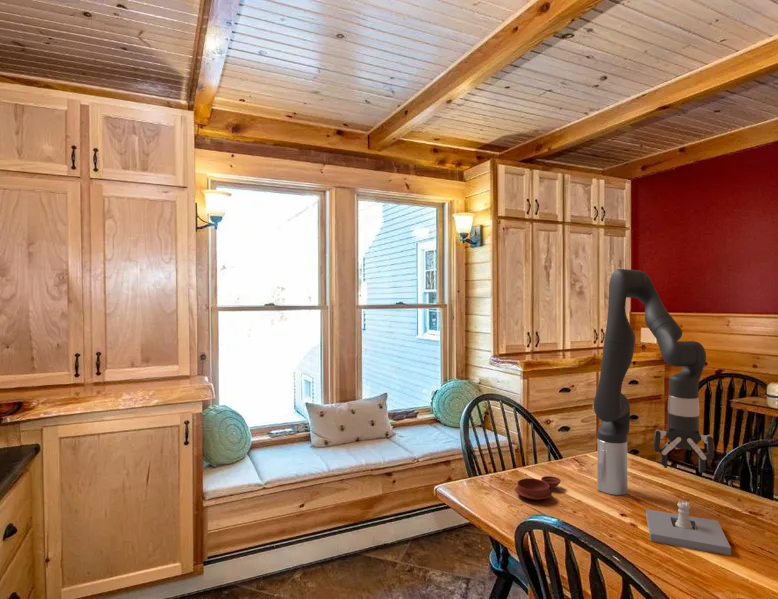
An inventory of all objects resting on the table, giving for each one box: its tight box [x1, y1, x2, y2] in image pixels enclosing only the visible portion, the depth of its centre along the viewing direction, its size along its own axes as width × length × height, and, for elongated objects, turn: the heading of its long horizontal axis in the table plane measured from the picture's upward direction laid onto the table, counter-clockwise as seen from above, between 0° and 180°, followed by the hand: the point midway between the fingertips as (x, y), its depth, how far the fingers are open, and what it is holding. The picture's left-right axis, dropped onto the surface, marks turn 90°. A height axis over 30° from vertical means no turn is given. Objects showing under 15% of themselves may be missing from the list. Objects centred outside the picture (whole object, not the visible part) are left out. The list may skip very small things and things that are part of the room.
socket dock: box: [645, 509, 732, 556], centre depth 132 cm, size 18×16×2 cm
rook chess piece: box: [674, 500, 694, 530], centre depth 134 cm, size 4×4×8 cm
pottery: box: [514, 475, 561, 501], centre depth 160 cm, size 12×20×4 cm, turn 131°
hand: (682, 469), depth 133 cm, fingers open, 8 cm apart
